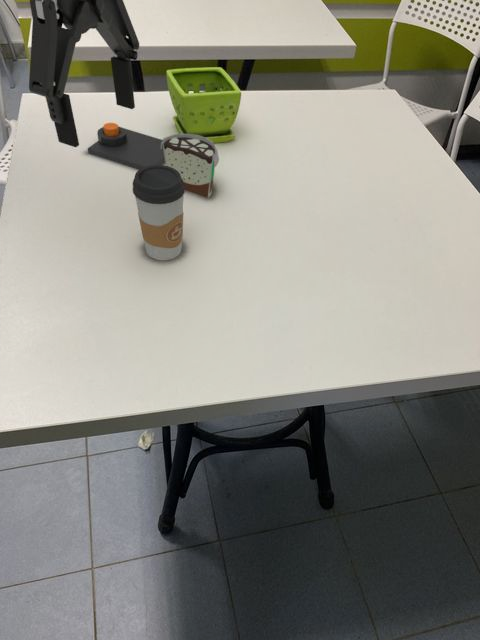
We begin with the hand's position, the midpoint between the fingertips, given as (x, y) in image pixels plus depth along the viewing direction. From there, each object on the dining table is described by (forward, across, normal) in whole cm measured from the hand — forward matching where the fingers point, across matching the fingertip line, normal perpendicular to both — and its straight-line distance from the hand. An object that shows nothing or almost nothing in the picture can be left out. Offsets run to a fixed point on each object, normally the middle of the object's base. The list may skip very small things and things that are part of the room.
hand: (99, 124), depth 71 cm
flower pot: (+24, +47, +8) cm, 53 cm away
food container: (+24, +26, -1) cm, 35 cm away
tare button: (+20, +31, +22) cm, 43 cm away
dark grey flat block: (+24, +31, +17) cm, 42 cm away
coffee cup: (+24, +4, -6) cm, 25 cm away
